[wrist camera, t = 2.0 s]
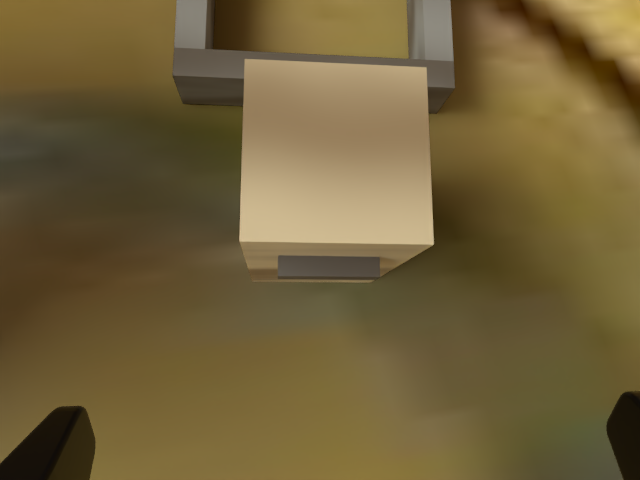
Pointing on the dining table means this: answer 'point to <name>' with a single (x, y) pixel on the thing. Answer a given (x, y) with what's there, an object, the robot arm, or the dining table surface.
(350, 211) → the cabinet block
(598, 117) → the dining table surface
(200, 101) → the grey frame stand
